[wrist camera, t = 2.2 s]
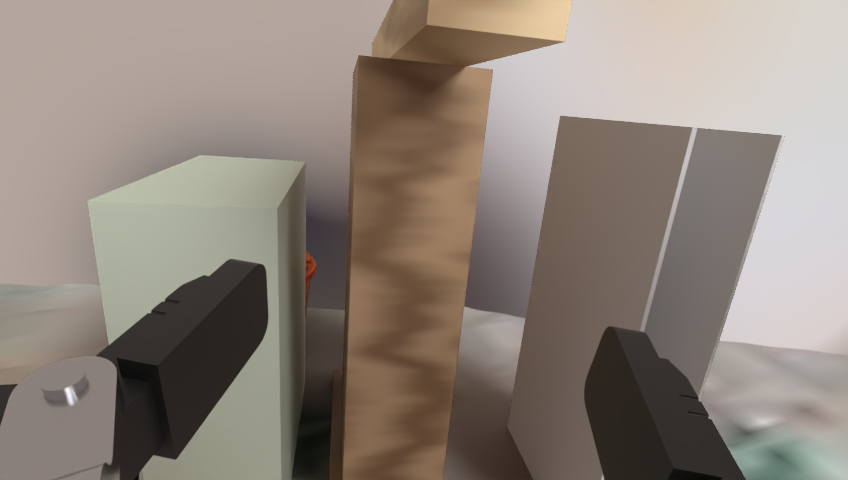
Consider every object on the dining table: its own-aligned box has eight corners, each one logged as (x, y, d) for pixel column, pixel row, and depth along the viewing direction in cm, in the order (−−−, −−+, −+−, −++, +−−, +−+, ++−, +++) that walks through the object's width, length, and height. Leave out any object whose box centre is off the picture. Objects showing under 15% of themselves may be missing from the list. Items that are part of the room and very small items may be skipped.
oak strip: (416, 79, 39) (418, 48, 38) (565, 41, 12) (581, -61, 12) (370, 74, 38) (372, 43, 37) (426, 24, 12) (435, -85, 11)
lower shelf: (305, 384, 47) (305, 161, 40) (282, 543, 30) (276, 208, 23) (216, 387, 46) (200, 155, 39) (139, 557, 29) (87, 200, 22)
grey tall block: (648, 563, 31) (786, 135, 22) (578, 571, 30) (693, 127, 21) (558, 424, 45) (622, 121, 36) (507, 426, 44) (560, 115, 35)
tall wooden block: (413, 375, 50) (439, 82, 41) (452, 540, 32) (518, 70, 22) (333, 377, 49) (341, 72, 39) (325, 553, 30) (337, 50, 21)
